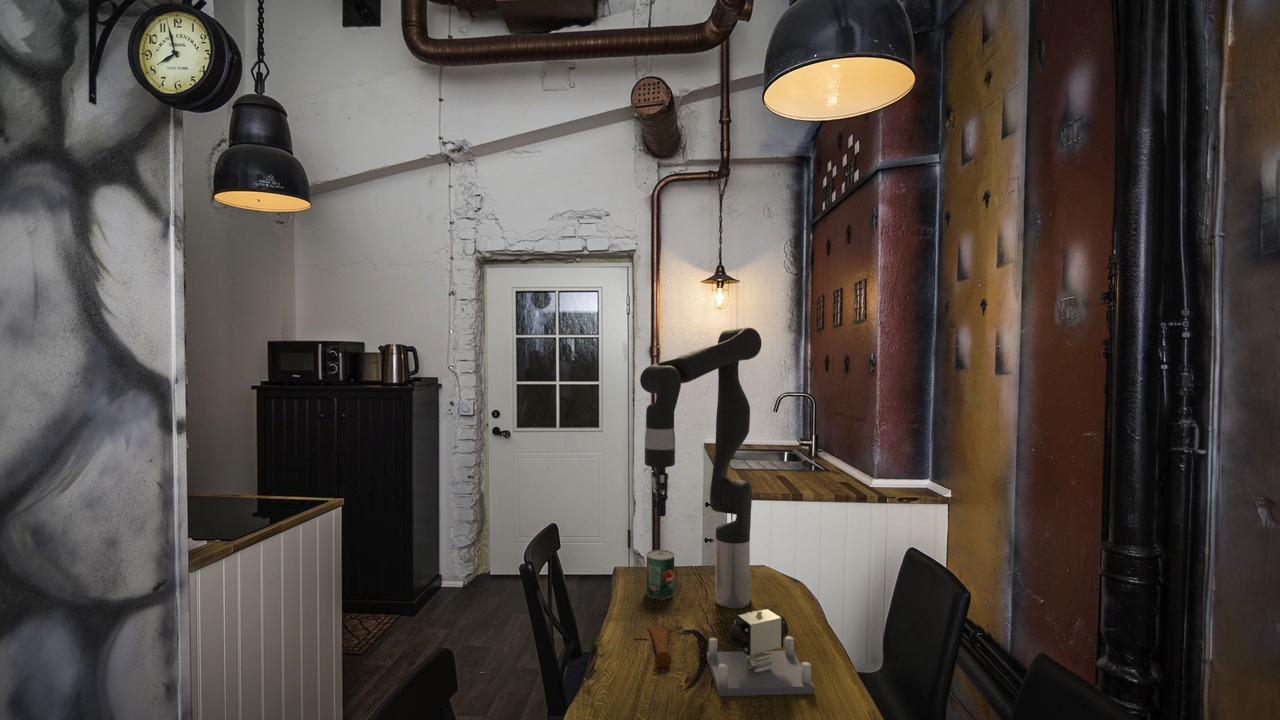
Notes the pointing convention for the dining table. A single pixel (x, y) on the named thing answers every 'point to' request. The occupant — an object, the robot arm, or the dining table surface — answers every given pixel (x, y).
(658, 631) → the primitive tool
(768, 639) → the pneumatic valve
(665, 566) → the canned tomato
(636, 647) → the dining table surface
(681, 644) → the dining table surface
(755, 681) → the peg board
